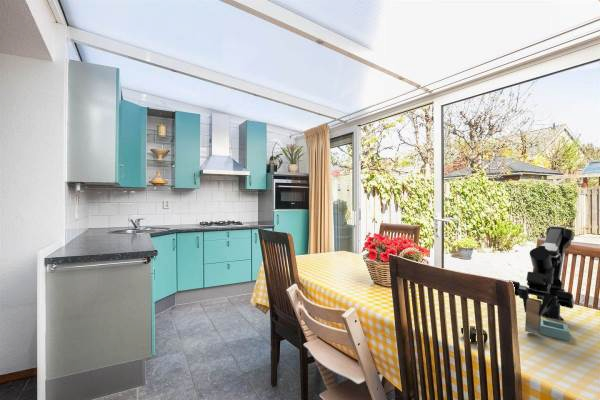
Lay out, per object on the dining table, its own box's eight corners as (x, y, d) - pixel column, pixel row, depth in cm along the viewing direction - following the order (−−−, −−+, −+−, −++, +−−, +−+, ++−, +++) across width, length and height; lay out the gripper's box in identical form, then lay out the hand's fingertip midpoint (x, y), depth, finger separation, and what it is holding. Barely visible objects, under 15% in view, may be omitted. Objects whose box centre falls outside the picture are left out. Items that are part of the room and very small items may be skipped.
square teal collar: (538, 326, 110) (538, 318, 110) (566, 332, 106) (567, 324, 105) (538, 333, 104) (538, 324, 104) (568, 340, 99) (569, 332, 99)
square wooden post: (527, 328, 106) (529, 297, 106) (540, 332, 103) (541, 300, 103) (525, 331, 103) (526, 299, 103) (537, 335, 101) (539, 302, 101)
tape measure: (459, 335, 101) (460, 324, 101) (481, 337, 100) (482, 326, 100) (467, 344, 94) (467, 333, 94) (491, 347, 93) (491, 335, 93)
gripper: (507, 258, 113) (496, 292, 106) (573, 268, 98) (565, 309, 91) (513, 276, 118) (502, 310, 111) (577, 288, 103) (569, 328, 96)
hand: (532, 313), depth 102 cm, fingers closed on square wooden post, 3 cm apart
